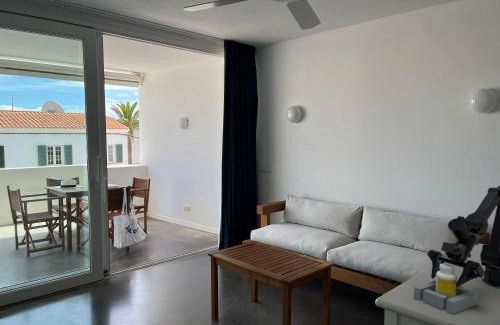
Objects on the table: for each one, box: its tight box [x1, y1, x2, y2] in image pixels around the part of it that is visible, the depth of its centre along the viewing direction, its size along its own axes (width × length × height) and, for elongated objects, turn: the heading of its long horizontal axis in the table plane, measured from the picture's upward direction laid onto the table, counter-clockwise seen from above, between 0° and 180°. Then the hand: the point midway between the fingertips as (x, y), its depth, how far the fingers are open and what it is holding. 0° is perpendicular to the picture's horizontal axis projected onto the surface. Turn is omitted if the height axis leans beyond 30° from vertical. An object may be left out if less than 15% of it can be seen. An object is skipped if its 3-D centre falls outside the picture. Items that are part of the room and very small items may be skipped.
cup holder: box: [413, 279, 480, 315], centre depth 139 cm, size 15×15×4 cm
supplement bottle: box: [435, 263, 458, 299], centre depth 139 cm, size 7×7×13 cm
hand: (443, 282), depth 138 cm, fingers open, 9 cm apart
